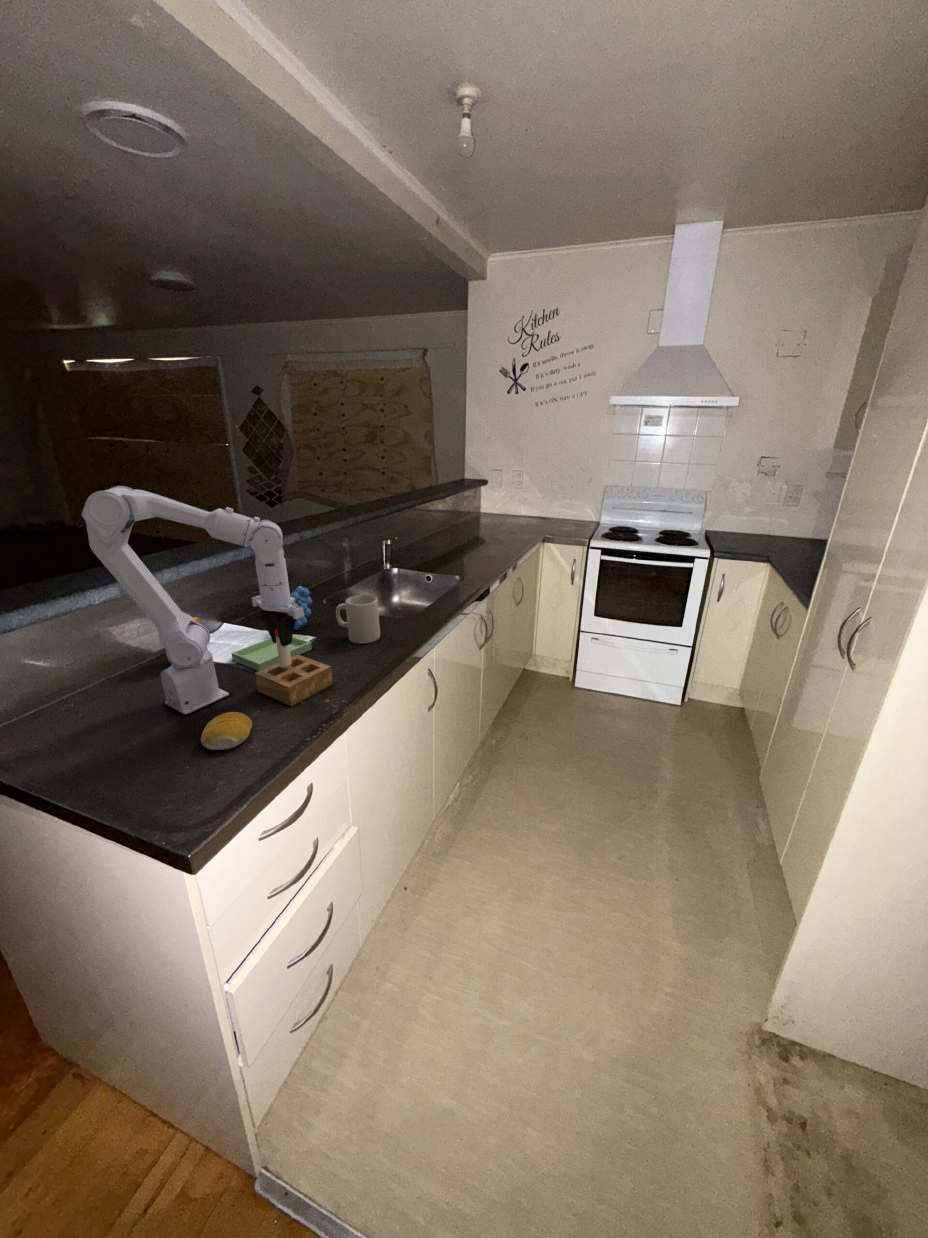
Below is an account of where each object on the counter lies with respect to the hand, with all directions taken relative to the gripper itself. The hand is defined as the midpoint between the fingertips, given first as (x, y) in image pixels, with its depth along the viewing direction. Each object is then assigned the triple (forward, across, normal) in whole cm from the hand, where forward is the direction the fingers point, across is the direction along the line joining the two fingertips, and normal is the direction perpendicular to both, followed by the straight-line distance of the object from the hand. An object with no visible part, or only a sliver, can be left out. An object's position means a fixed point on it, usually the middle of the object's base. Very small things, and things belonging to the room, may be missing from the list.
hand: (282, 643), depth 104 cm
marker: (+5, 0, 0) cm, 5 cm away
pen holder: (+10, -2, 0) cm, 11 cm away
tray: (+10, +17, -8) cm, 22 cm away
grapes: (+11, +27, -24) cm, 38 cm away
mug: (+10, +7, -28) cm, 31 cm away
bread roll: (+11, -7, +19) cm, 23 cm away
